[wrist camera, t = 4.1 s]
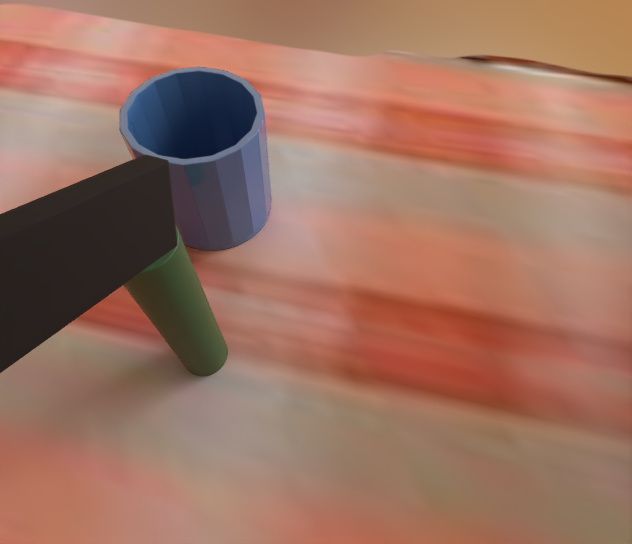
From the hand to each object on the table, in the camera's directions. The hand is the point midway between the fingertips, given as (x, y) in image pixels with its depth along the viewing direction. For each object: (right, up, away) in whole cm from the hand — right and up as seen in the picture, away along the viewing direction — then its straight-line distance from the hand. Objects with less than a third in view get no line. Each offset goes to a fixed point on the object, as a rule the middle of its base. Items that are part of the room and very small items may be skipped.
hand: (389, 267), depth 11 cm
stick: (-9, -6, +18) cm, 22 cm away
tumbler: (-10, +5, +25) cm, 27 cm away
